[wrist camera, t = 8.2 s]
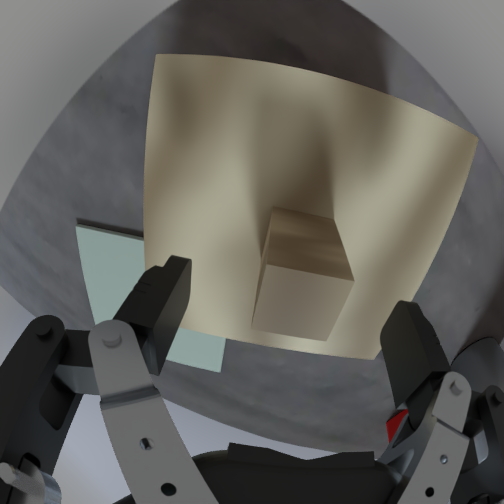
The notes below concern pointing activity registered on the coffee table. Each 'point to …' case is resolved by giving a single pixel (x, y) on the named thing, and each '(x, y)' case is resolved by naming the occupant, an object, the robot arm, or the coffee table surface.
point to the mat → (121, 284)
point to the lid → (295, 199)
